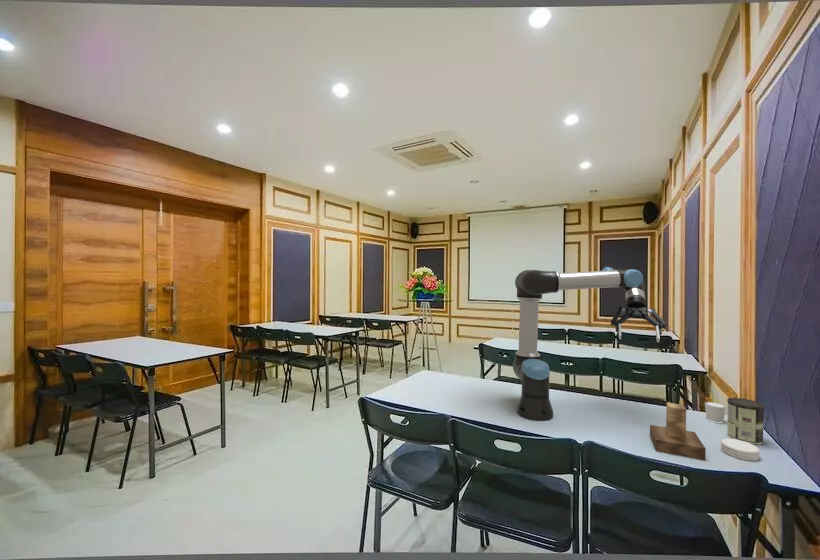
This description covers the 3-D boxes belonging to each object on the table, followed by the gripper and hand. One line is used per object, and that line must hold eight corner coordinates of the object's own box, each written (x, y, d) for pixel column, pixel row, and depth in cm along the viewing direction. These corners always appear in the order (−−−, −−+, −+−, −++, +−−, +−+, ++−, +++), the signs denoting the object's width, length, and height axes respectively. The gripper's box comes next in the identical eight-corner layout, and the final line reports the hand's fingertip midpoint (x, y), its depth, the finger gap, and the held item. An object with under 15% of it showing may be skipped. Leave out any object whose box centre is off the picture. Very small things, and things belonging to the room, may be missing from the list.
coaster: (713, 449, 129) (713, 439, 129) (734, 446, 131) (734, 436, 131) (744, 463, 119) (745, 453, 119) (767, 460, 122) (767, 449, 122)
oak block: (668, 437, 129) (669, 406, 129) (666, 431, 134) (666, 402, 134) (685, 439, 127) (686, 409, 127) (682, 434, 131) (683, 404, 131)
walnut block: (655, 450, 127) (655, 439, 127) (649, 434, 140) (650, 424, 140) (705, 460, 121) (705, 448, 121) (694, 442, 133) (694, 432, 133)
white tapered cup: (703, 420, 153) (704, 404, 153) (705, 416, 158) (705, 400, 158) (725, 425, 149) (725, 408, 148) (725, 420, 154) (726, 404, 154)
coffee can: (750, 433, 141) (751, 398, 141) (770, 446, 131) (771, 408, 131) (720, 431, 143) (720, 396, 143) (738, 443, 133) (739, 405, 133)
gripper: (667, 307, 160) (673, 346, 147) (604, 305, 171) (604, 341, 158) (670, 296, 155) (676, 336, 142) (604, 294, 166) (605, 331, 153)
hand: (638, 339), depth 150 cm, fingers open, 13 cm apart
